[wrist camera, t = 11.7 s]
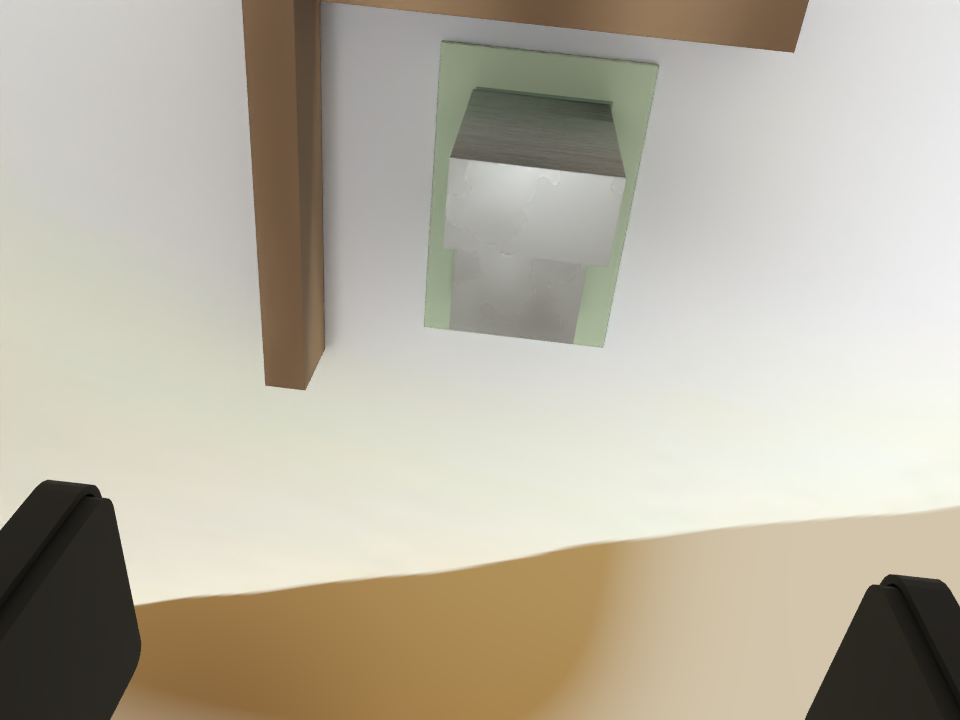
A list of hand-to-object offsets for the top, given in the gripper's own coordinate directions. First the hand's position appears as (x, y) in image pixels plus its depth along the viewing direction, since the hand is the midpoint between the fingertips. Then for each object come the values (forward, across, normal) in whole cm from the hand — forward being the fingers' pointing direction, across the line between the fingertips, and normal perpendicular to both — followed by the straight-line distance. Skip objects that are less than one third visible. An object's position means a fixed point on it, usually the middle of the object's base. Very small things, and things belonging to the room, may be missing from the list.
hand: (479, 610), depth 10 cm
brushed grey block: (+20, 0, +2) cm, 20 cm away
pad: (+20, -1, +2) cm, 21 cm away
